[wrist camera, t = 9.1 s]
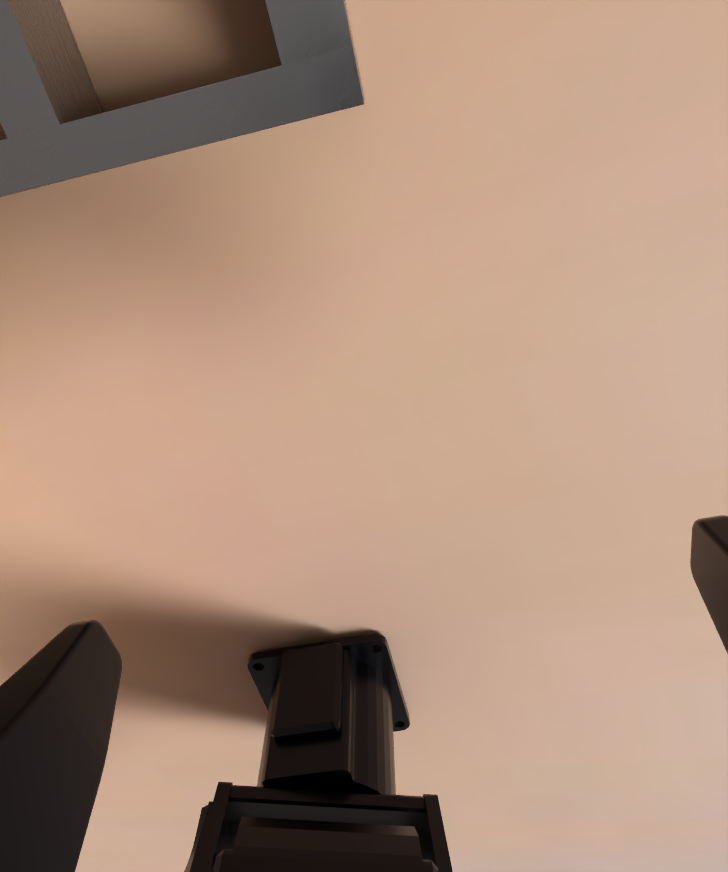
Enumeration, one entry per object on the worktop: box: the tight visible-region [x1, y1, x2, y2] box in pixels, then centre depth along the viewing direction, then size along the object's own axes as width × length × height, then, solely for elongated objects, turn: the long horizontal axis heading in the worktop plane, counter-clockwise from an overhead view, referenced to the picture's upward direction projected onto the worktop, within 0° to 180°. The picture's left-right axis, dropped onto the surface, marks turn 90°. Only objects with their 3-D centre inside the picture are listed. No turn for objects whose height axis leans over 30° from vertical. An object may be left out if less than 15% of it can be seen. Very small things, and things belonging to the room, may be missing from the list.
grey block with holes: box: [0, 0, 364, 197], centre depth 15 cm, size 8×16×3 cm, turn 103°
